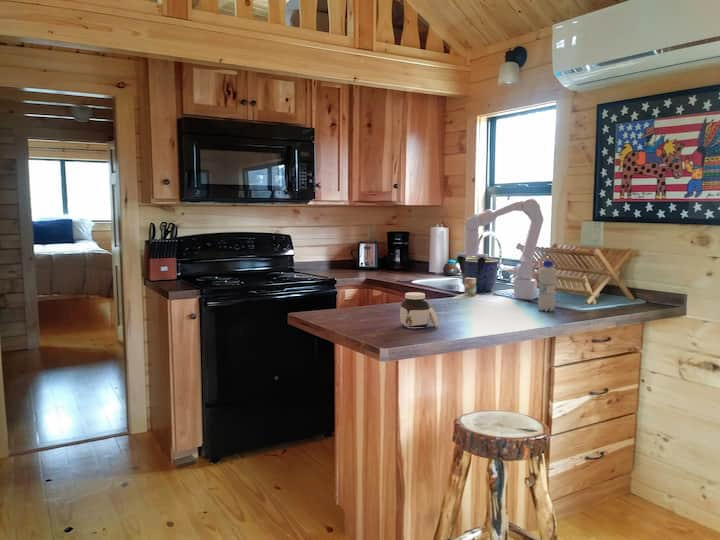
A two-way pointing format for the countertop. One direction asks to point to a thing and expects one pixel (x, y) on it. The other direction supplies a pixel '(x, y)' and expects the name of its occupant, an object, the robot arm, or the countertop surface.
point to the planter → (487, 276)
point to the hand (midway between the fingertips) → (471, 274)
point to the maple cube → (470, 282)
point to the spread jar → (417, 311)
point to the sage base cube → (470, 292)
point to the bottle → (547, 287)
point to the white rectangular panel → (480, 298)
